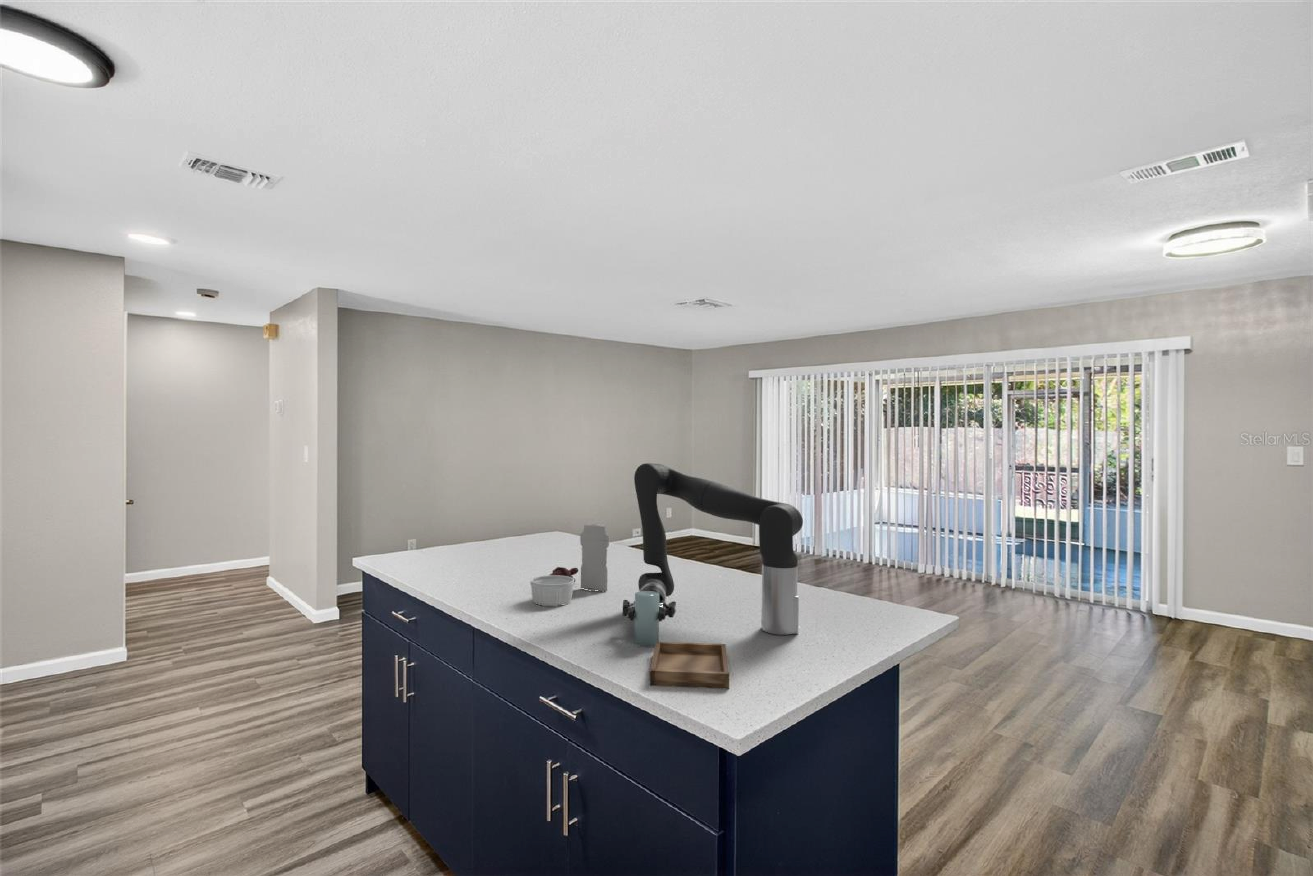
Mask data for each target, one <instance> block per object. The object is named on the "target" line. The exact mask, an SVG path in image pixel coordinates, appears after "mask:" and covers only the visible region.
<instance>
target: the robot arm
mask: <svg viewBox="0 0 1313 876" xmlns="http://www.w3.org/2000/svg"><path fill="white" fill-rule="evenodd" d="M633 477H634V478H633V479H634V480H633V481H634V488H635V493H636V499H637V504H638V511H639V514H640V515H639V517H640V520H641V521H640V522H641V527H642V529H641V530H642V549H643V563H645V564H646V565H649V566H655V567H658V568H659V569H660V572H645V573H643V574H641V575H640V576H639V579H638V583H637V584H638V592H640V591H654V592H658V593H659V622H662V621H663V620H664V621H665V620H666V617H667V616H668V618H671V619H672V618H674V616H675V614H676V612H677V610H676V609H677V608H676V607H677V602H676V601H674V600H673V601H670V602H668V604H667V603H666V602H667V597H670V596H671V595H672V594H673V592H674V590H675V582H674V578H673V576H672V573H671V570H670V565H669V561H668V553H667V551H668V550H667V547H668V546H667V535H666V531H665V528H664V524H663V522H662V519H661V517H660V514H659V513H660V512H659V509H658V500H657V499H658V495H666V496H670V497H673V498H677V499H680V500H682V501H685V502H686V503H687V504H688V505H690V506H691V507H693V508H695V509H696V510H697V511H700V512H702V513H706V514H708V515H711V516H714V517H718V518H722V519H726V520H733V521H741V522H748V523H752V524H754V525H758V527H759V528H758V542H759V553H760V556H761V562H762V563H761V564H762V565H761V619H760V620H761V630H762V631H763V632H765V633H767V634H768V633H769V634H770V635H771V634H772V635H777V636H778V635H780V636H781V635H782V636H784V635H787V636H788V635H793V634H799V607H800V606H799V601H800V597H799V596H798V570H799V568H798V566H799V564H798V562H799V560H798V559H799V558H798V555H797V554H796V553H795V551H794V536H796V535H797V534H799V532H800V531H801V530H802V527H803V524H804V521H803V517H802V514H801V512H800V511H799V510H798V508H796V507H795V506H794V505H792V504H790V503H785V502H779V501H774V500H769V499H765V498H761V497H758V496H754V495H753V494H749V493H747V492H744V491H743V490H742V491H741V490H739V489H736V488H734V487H731V486H728V485H727V484H724V483H723V484H722V483H719V482H716V481H713V480H708V479H706V478H700V477H696V476H691V475H688V474H684V473H682V472H680V471H678V470H675V469H673V468H670V467H669V466H666V465H664V464H661V463H652V462H651V463H649V462H648V463H647V462H646V463H642V464H641V465H639V466H637V468H636V470H635V473H634V476H633ZM622 616H624V617H627V619H629V620H630V621H634V620H635V600H634V601H633V602H630V601H629V600H628V599H623V601H622Z"/></svg>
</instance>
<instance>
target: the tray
mask: <svg viewBox="0 0 1313 876" xmlns="http://www.w3.org/2000/svg"><path fill="white" fill-rule="evenodd" d="M728 660H729V659H728V654H727V646H726V643H706V642H705V643H704V642H703V643H702V642H701V643H700V642H683V641H682V642H677V641H659V642H656V646H654V651H653V656H652V660H651V664H650V669H649V686H651V687H652V686H653V685H654V687H655V686H656V687H673V686H674V687H677V688H697V687H706V688H705V689H720V688H721V689H723V688H726V689H725V690H729V689H730V670H729V663H728V662H729V661H728ZM723 690H724V689H723Z"/></svg>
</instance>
